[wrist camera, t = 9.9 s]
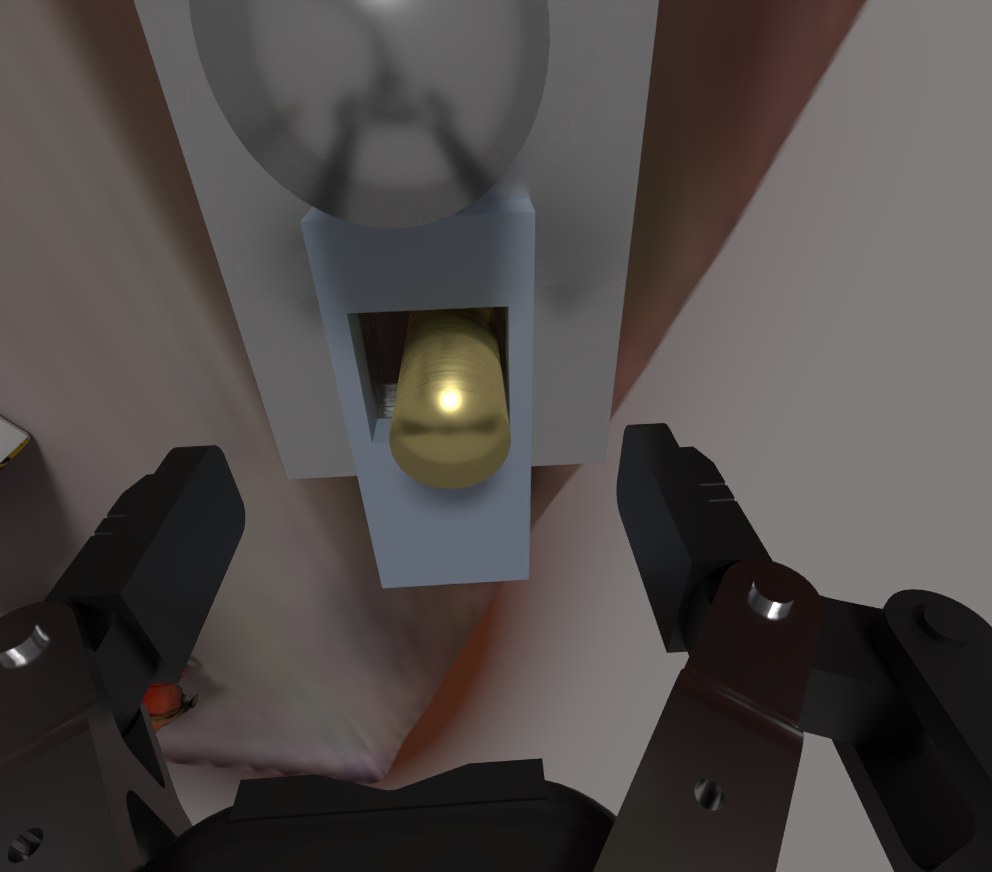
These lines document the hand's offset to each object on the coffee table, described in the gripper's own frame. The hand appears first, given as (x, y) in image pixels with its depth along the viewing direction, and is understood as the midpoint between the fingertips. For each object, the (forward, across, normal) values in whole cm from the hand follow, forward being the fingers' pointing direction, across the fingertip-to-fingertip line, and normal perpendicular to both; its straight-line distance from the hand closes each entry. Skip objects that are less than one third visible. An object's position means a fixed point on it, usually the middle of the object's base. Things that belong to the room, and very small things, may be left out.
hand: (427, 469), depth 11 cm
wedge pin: (+14, 0, 0) cm, 14 cm away
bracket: (+14, 0, +2) cm, 14 cm away
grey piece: (+14, 0, -3) cm, 14 cm away
